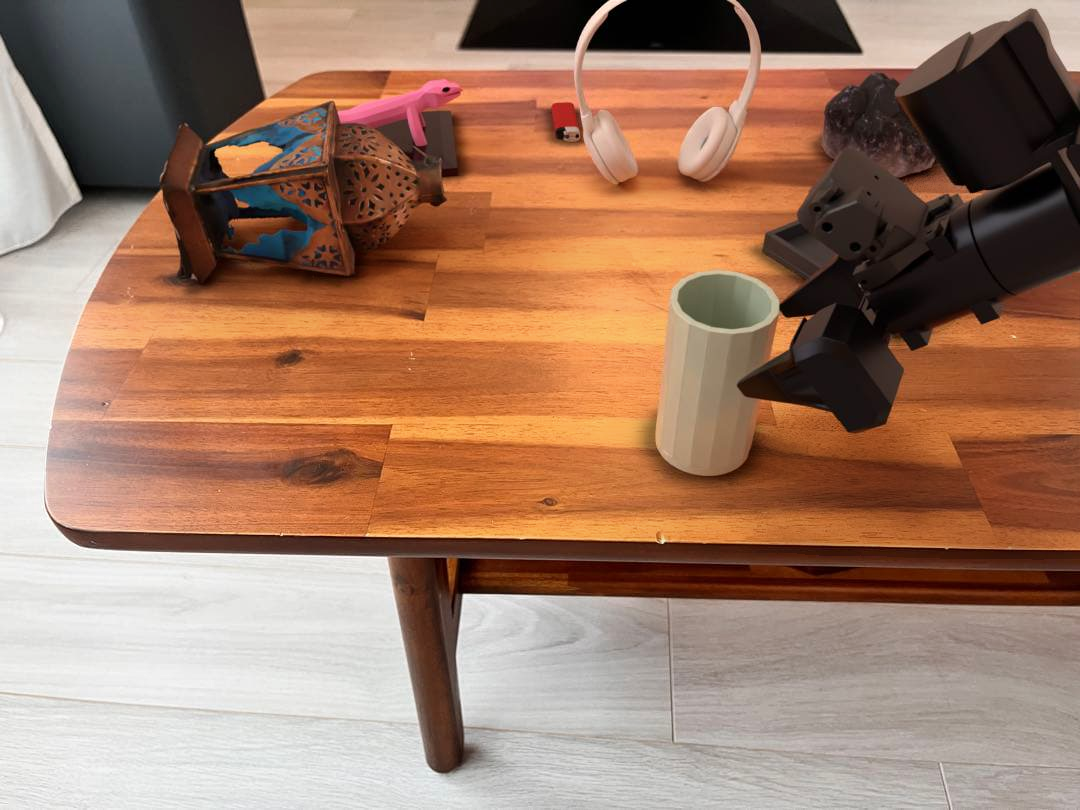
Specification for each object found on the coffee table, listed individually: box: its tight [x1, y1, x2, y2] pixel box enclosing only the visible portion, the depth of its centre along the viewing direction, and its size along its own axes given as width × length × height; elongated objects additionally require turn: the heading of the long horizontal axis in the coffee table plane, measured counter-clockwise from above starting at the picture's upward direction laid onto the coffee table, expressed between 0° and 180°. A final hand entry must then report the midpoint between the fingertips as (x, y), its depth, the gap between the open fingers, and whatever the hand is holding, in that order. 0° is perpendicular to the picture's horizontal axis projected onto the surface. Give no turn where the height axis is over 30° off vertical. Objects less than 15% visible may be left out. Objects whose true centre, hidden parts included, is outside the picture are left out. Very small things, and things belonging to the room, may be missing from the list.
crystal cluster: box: [821, 71, 936, 179], centre depth 98 cm, size 13×14×10 cm
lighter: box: [550, 101, 581, 143], centre depth 106 cm, size 3×1×8 cm
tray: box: [761, 219, 901, 339], centre depth 84 cm, size 16×16×2 cm
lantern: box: [159, 100, 448, 285], centre depth 83 cm, size 16×16×25 cm
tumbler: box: [654, 269, 781, 477], centre depth 63 cm, size 7×7×13 cm
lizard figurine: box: [337, 78, 464, 178], centre depth 100 cm, size 15×20×7 cm
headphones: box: [573, 0, 762, 185], centre depth 90 cm, size 7×18×20 cm, turn 93°
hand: (762, 348), depth 59 cm, fingers open, 9 cm apart
